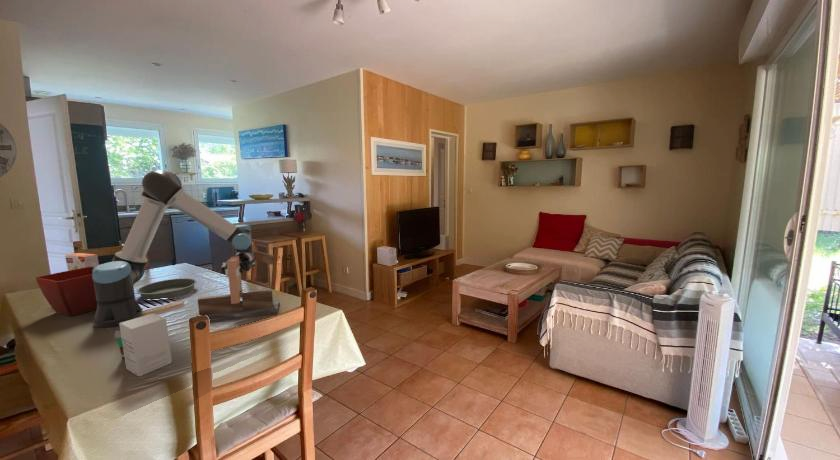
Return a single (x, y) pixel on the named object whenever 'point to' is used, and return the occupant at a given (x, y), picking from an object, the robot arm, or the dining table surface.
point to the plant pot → (69, 291)
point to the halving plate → (234, 280)
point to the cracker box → (81, 260)
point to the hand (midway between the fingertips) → (231, 273)
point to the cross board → (243, 313)
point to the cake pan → (167, 288)
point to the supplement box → (145, 344)
